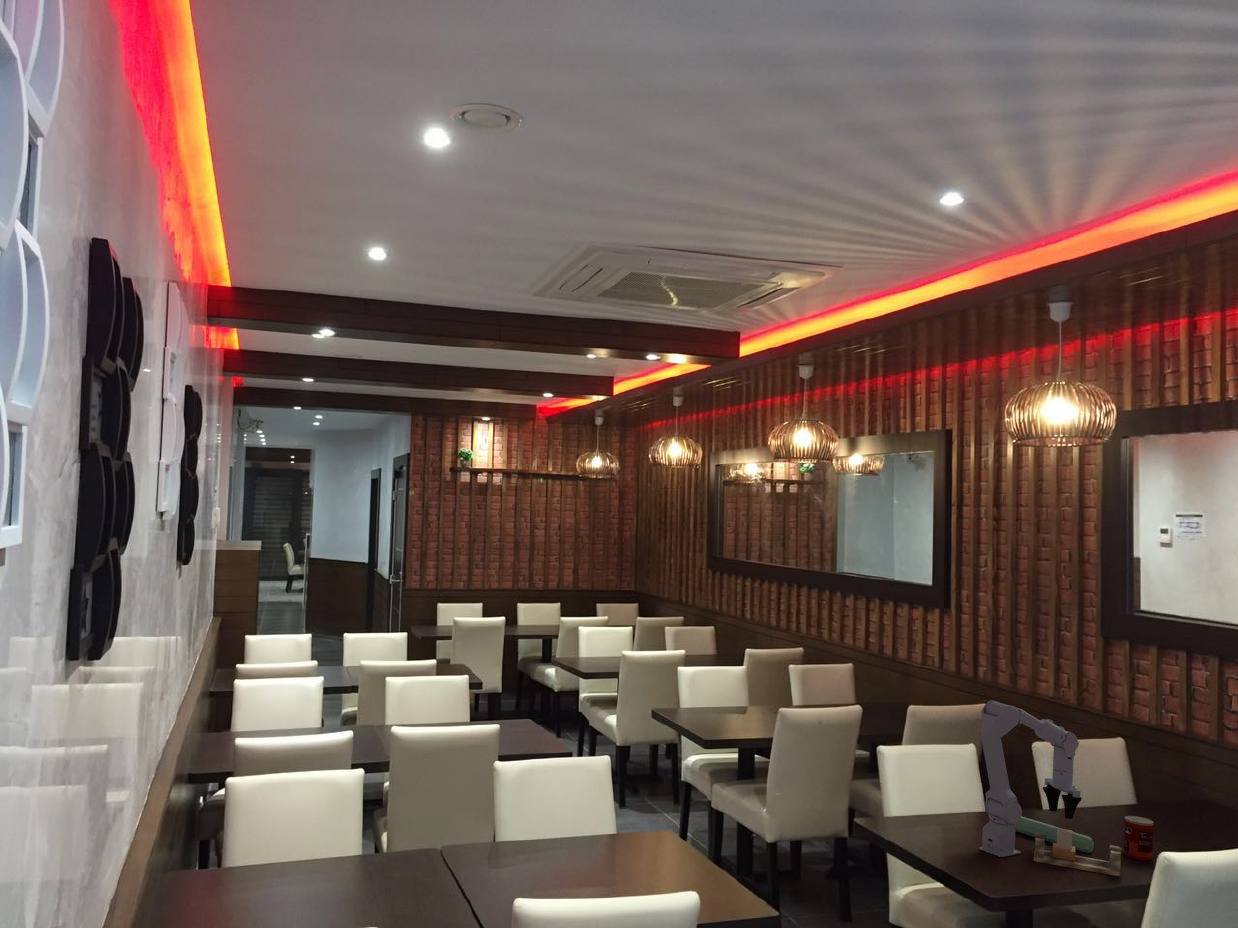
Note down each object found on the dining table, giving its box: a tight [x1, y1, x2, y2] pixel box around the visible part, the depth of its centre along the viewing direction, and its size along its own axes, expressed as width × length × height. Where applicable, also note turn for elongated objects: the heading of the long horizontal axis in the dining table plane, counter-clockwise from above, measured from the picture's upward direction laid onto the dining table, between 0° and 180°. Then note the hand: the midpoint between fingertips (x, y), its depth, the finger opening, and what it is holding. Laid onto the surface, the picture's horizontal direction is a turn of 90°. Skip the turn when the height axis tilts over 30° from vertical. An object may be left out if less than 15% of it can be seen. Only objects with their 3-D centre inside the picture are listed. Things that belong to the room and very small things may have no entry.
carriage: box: [1052, 827, 1076, 861], centre depth 298 cm, size 6×6×8 cm
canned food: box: [1123, 815, 1155, 861], centre depth 309 cm, size 8×8×11 cm
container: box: [1015, 815, 1095, 854], centre depth 318 cm, size 6×6×25 cm
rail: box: [1033, 833, 1123, 877], centre depth 297 cm, size 23×8×7 cm, turn 66°
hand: (1060, 814), depth 312 cm, fingers open, 7 cm apart
